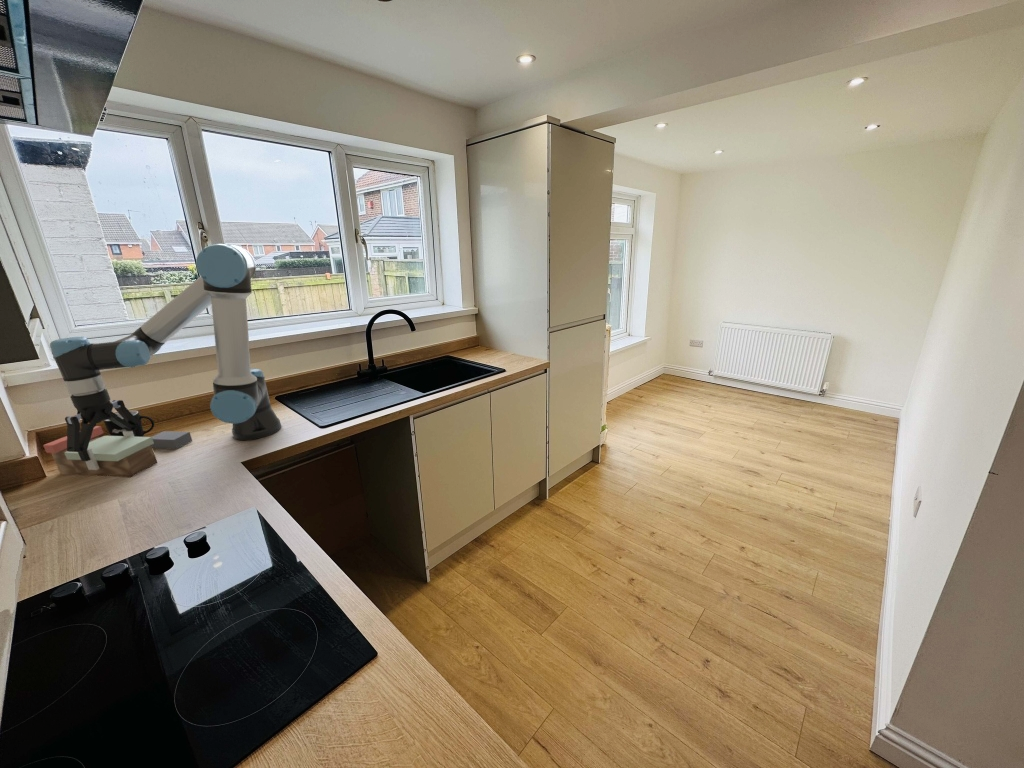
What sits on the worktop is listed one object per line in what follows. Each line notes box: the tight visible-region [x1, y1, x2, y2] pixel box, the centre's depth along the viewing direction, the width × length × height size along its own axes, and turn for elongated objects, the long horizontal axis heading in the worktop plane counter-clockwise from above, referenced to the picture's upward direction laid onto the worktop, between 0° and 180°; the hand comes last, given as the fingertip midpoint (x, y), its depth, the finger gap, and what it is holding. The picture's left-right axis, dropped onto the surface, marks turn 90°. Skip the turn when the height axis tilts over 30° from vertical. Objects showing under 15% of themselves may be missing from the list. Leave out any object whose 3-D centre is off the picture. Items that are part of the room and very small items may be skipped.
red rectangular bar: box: [42, 425, 104, 454], centre depth 121 cm, size 3×13×2 cm, turn 173°
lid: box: [65, 435, 154, 461], centre depth 121 cm, size 17×11×2 cm, turn 83°
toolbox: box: [50, 437, 158, 478], centre depth 122 cm, size 24×8×8 cm, turn 83°
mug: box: [102, 410, 155, 437], centre depth 140 cm, size 12×9×10 cm
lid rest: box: [150, 430, 193, 450], centre depth 137 cm, size 10×6×4 cm, turn 83°
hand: (115, 459), depth 122 cm, fingers closed on lid, 11 cm apart
